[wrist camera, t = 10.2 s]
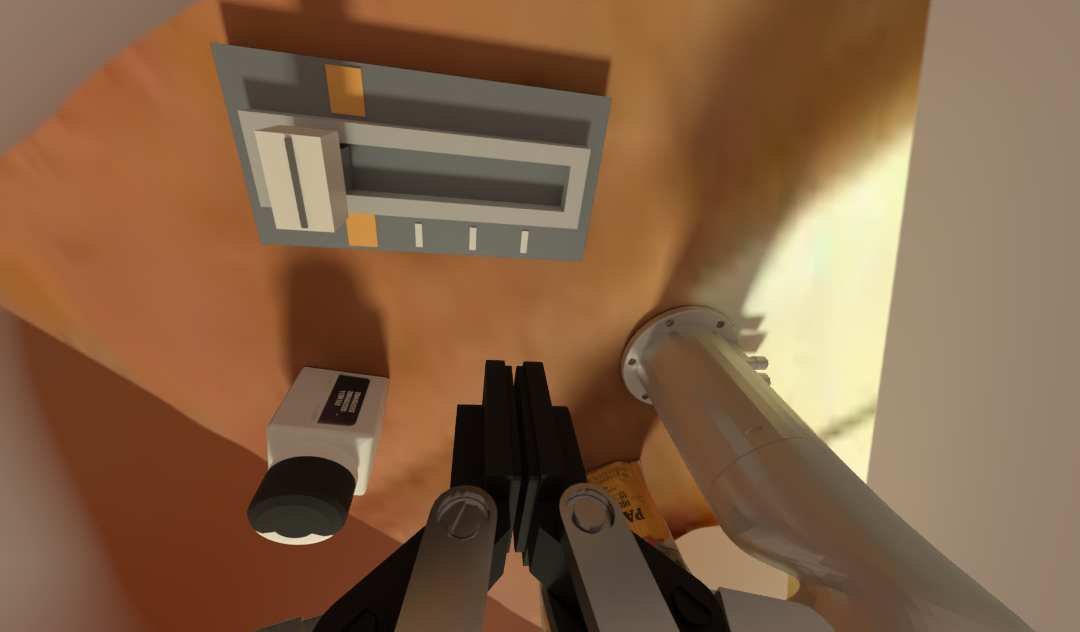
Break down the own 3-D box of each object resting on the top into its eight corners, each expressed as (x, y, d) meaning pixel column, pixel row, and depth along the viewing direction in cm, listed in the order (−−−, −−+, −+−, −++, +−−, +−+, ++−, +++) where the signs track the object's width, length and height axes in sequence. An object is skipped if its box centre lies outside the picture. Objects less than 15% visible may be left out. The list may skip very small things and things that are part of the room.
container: (302, 364, 36) (227, 489, 25) (390, 376, 38) (356, 496, 27) (301, 423, 40) (234, 556, 28) (381, 431, 42) (348, 558, 31)
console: (603, 96, 28) (619, 98, 25) (576, 252, 34) (586, 269, 31) (228, 45, 24) (193, 40, 21) (273, 234, 30) (250, 251, 27)
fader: (351, 125, 25) (319, 137, 20) (360, 204, 27) (333, 233, 22) (300, 120, 24) (252, 130, 19) (314, 200, 27) (275, 229, 22)
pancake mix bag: (659, 471, 52) (813, 796, 29) (535, 527, 55) (582, 867, 31) (643, 444, 49) (803, 786, 25) (512, 504, 51) (544, 867, 28)
